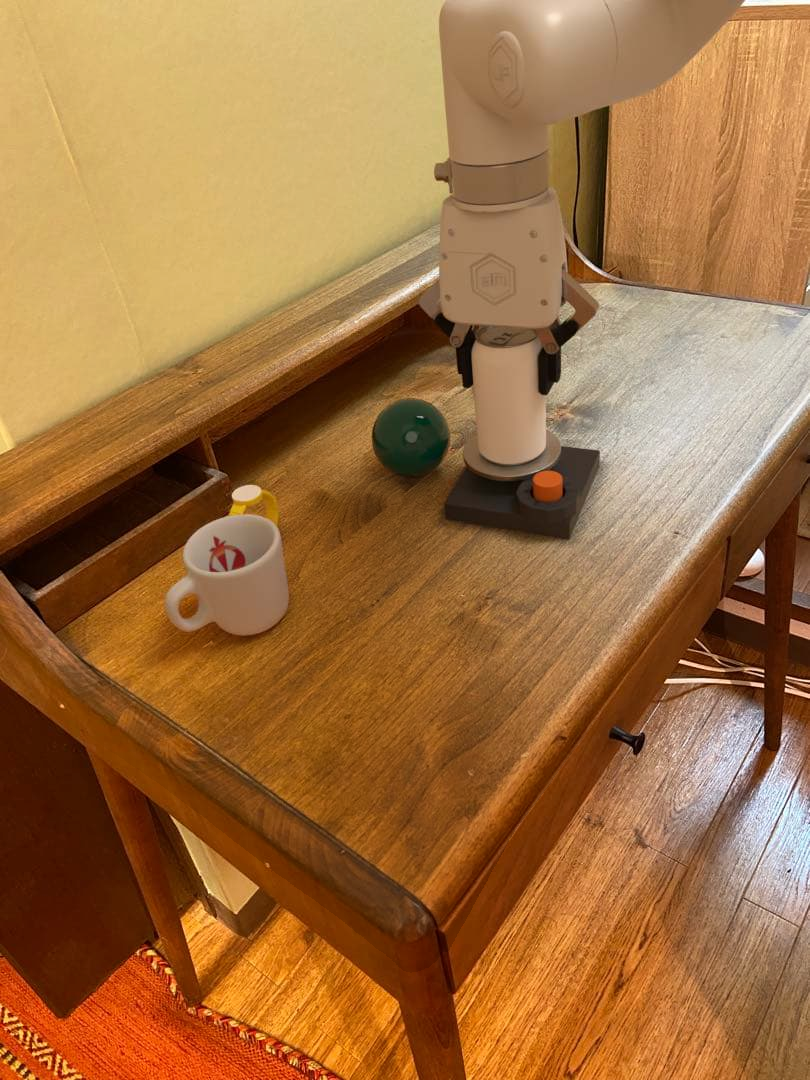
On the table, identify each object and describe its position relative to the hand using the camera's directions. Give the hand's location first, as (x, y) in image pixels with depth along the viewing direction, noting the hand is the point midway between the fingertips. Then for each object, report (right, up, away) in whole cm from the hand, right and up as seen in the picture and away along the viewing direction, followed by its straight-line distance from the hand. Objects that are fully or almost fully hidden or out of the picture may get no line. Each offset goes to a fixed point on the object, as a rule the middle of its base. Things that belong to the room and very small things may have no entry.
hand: (509, 382), depth 75 cm
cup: (-24, -22, -4) cm, 32 cm away
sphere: (-8, -7, +11) cm, 16 cm away
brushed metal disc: (+1, -6, +5) cm, 8 cm away
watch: (-23, -15, +4) cm, 28 cm away
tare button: (+3, -10, 0) cm, 11 cm away
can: (+1, -6, +4) cm, 7 cm away
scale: (+2, -10, +6) cm, 11 cm away
